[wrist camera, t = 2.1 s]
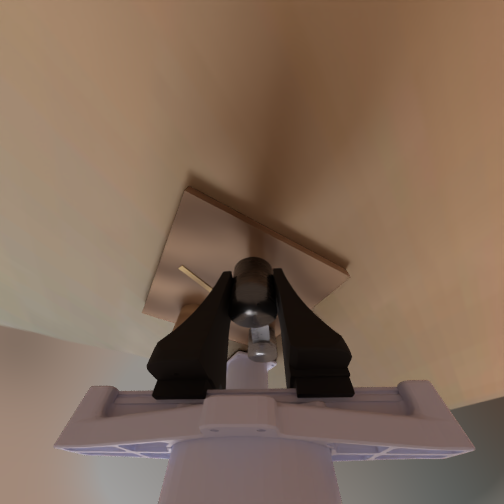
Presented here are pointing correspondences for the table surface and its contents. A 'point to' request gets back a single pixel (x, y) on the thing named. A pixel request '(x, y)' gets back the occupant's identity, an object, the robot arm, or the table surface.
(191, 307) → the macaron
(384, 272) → the table surface
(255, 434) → the robot arm
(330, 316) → the table surface
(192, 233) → the board
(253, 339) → the lever
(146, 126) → the table surface
